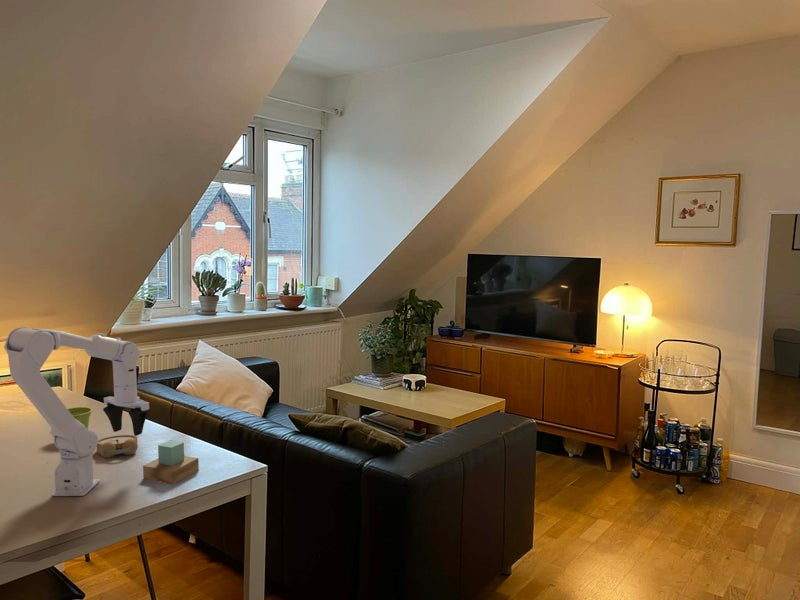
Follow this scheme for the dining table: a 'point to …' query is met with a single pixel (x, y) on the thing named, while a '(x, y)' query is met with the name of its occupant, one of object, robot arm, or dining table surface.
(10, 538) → the dining table surface
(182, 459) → the teal block
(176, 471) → the walnut box
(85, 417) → the plant pot
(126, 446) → the alarm clock
